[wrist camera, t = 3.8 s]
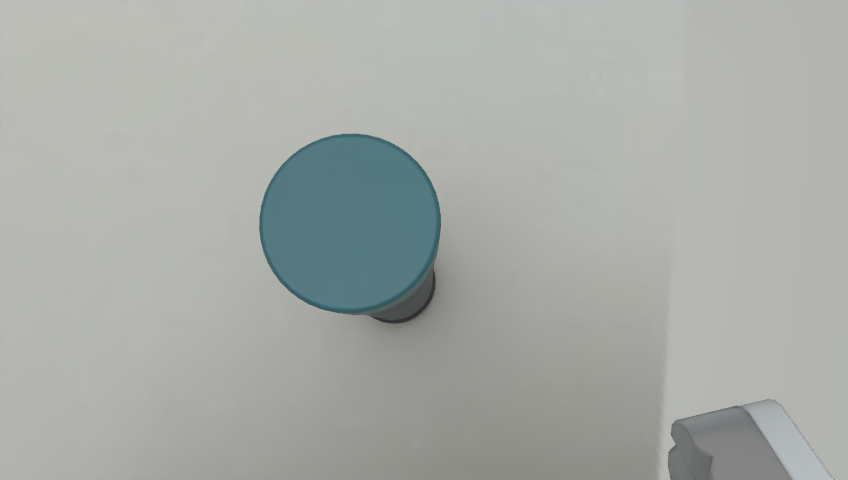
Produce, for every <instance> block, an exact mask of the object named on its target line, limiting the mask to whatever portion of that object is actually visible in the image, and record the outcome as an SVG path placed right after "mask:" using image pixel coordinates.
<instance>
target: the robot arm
mask: <svg viewBox="0 0 848 480" xmlns="http://www.w3.org/2000/svg"><path fill="white" fill-rule="evenodd" d="M671 436H672V438H673V440H674V442H675V444H676V445H675V446H674V447H673V448H672V449H671V450H670V451H669V455H668V468H669V473H670V478H671V480H834V479H833V477H832V476H831V475H830V473H829V472H828V470H827V469H826V467H825V466H824V465H823V463H822V462H821V460H820V459H819V457H818V456H817V455H816V453H815V452H814V450H813V449H812V448H811V446H810V445H809V443H808V442H807V440H806V439H805V438H804V436H803V435H802V433H801V432H800V430H799V429H798V428H797V426H796V425H795V424H794V422H793V421H792V419H791V418H790V416H789V415H788V413H787V412H786V411H785V409H784V408H783V406H782V405H781V404H779V403H778V402H777V401H775V400H771V399H767V400H763V401H759V402H754V403H750V404H745V405H741V406H734V407H729V408H726V409H721V410H717V411H713V412H708V413H704V414H700V415H696V416H692V417H688V418H684V419H679V420H676V421H675V422H674V423H673V424H672V429H671Z"/></svg>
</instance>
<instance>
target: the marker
mask: <svg viewBox="0 0 848 480" xmlns="http://www.w3.org/2000/svg"><path fill="white" fill-rule="evenodd" d="M259 229H260V238H261V243H262V247H263V251H264V254H265V257H266V259H267V262H268V264H269V266H270V267H271V269H272V271H273V273H274V274H275V275H276V277H277V278H278V279H279V281H280V282H281V283H282V284H283V285H284V286H285V287H286V288H287V289H288V290H289V291H290V292H291V293H293V294H294V295H295V296H297V297H298V298H299V299H301V300H303V301H305V302H306V303H308V304H310V305H313V306H315V307H317V308H320V309H324V310H327V311H331V312H337V313H343V314H351V315H369V316H371V317H373V318H375V319H377V320H379V321H382V322H386V323H402V322H406V321H409V320H411V319H413V318H415V317H417V316H418V315H419V314H421V313H422V312H423V311H424V310H425V309H426V307H427V306H428V305H429V303H430V301H431V299H432V297H433V294H434V290H435V273H434V269H433V267H434V261H435V259H436V255H437V251H438V245H439V237H440V229H441V215H440V208H439V202H438V199H437V195H436V192H435V190H434V187H433V185H432V183H431V181H430V179H429V177H428V176H427V174H426V173H425V171H424V170H423V169H422V167H421V166H420V165H419V164H418V162H417V161H416V160H414V159H413V158H412V157H411V156H410V155H409V154H408V153H406V152H405V151H404V150H402V149H401V148H400V147H398V146H396V145H394V144H392V143H390V142H388V141H386V140H383V139H380V138H377V137H373V136H369V135H362V134H340V135H333V136H329V137H326V138H322V139H319V140H317V141H315V142H312V143H310V144H308V145H307V146H305V147H303V148H301V149H300V150H298V151H297V152H296V153H294V154H293V155H292V156H291V157H290V158H289V159H288V160H287V161H286V162H285V163H283V165H282V166H281V167H280V168H279V170H278V171H277V172H276V173H275V175H274V177H273V178H272V180H271V182H270V183H269V186H268V188H267V190H266V192H265V195H264V198H263V202H262V205H261V212H260V226H259Z"/></svg>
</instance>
